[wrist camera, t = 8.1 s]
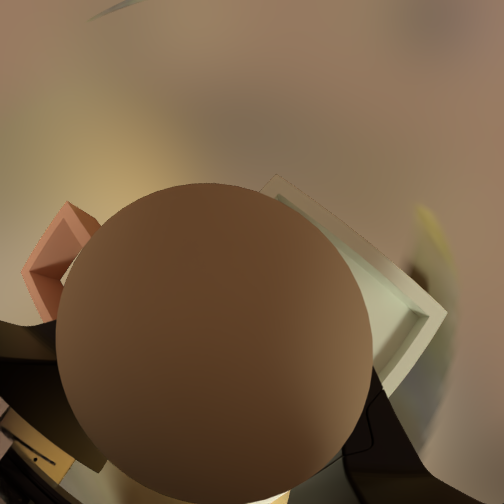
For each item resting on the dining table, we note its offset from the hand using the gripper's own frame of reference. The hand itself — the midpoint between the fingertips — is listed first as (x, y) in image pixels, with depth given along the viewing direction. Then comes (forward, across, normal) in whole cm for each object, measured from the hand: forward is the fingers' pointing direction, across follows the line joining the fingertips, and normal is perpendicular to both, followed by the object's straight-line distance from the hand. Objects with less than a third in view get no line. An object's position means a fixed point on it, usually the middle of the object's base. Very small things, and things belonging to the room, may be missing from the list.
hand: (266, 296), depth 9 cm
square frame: (+5, +15, +8) cm, 18 cm away
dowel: (+4, 0, +6) cm, 7 cm away
